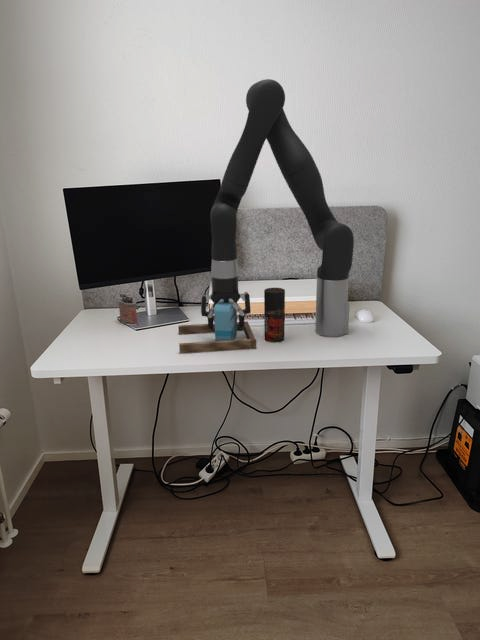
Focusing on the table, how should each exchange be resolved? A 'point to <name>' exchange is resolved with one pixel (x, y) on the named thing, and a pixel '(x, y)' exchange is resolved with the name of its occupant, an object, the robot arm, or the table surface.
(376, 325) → the table surface
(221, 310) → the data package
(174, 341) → the table surface
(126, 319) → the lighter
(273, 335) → the deodorant
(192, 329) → the walnut u-shaped frame
